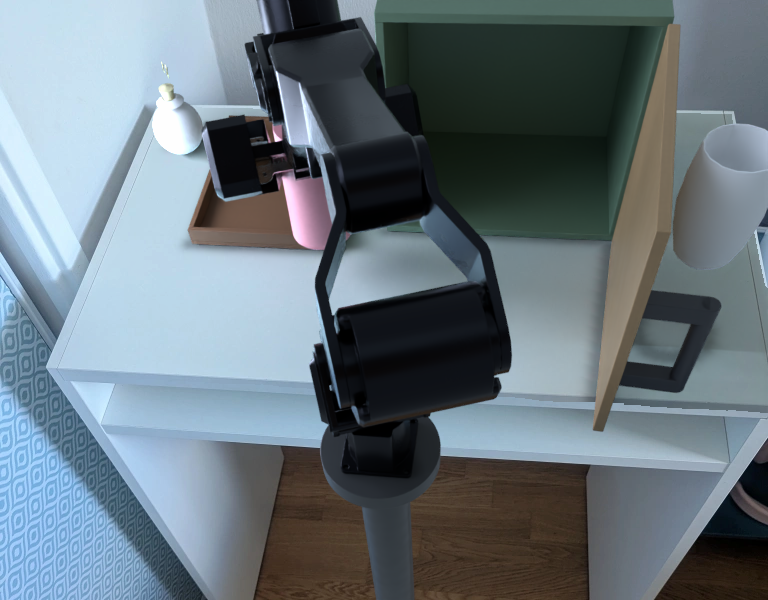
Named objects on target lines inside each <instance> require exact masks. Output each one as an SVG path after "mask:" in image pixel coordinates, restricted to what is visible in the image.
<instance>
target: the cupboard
mask: <svg viewBox="0 0 768 600" xmlns="http://www.w3.org/2000/svg"><path fill="white" fill-rule="evenodd" d="M673 1H674V0H376V2H375V7H374V12H373V22H374V36H375V37H374V39H375V44H376V46H377V48H378V51H379V54H380V58H381V62H382V67H383V73H384V81H385V88H388V87H393V86H399V85H404V84H408V85H409V86H410V87H412V88H413V89H414V90H415V92H416V95H417V99H418V105H419V111H420V117H421V123H422V129H423V134H424V137H425V139H426V141H427V144H428V147H429V150H430V154H431V158H432V162H433V166H434V171H435V175H436V179H437V184H438V188H439V191H440V193H441V194H442V195H443V197H444V198H445V199H446V200H447V201H448V202H449V203H450V204H451V205H452V206H453V207H454V208H455V210H456V211H457V212H458V213H459V214H460V215H461V216H462V217H463V218H464V219H465V220H466V222H467V223H468V224H469V225H470V226H471V227H472V228H473V229H474V230H475V231H476V232H477V233H478V235H479V236H495V237H497V236H499V237H519V238H542V239H562V240H563V239H564V240H565V239H566V240H588V241H608V242H609V241H610V242H612V239H613V235H614V231H615V227H616V223H617V220H618V216H619V212H620V208H621V204H622V200H623V197H624V193H625V189H626V185H627V181H628V177H629V174H630V170H631V166H632V162H633V158H634V154H635V151H636V147H637V143H638V139H639V135H640V131H641V128H642V124H643V120H644V116H645V112H646V108H647V105H648V101H649V97H650V93H651V89H652V85H653V82H654V78H655V74H656V70H657V66H658V62H659V59H660V55H661V51H662V47H663V43H664V39H665V36H666V32H667V28H668V25H669V24H674V20H675V10H674V2H673ZM386 231H387V232H407V233H425V232H424V230H423V228H422V226H421V224H420V220H419V221H415V222H410V223H405V224H400V225H395V226H390V227H386Z"/></svg>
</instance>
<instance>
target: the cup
mask: <svg viewBox="0 0 768 600" xmlns="http://www.w3.org/2000/svg"><path fill="white" fill-rule="evenodd" d="M767 210H768V130H767V129H766V128H764V127H760V126H757V125H753V124H751V123H750V124H748V123H735V122H734V123H729V124H723V125H719V126H718V127H715V128H713V129H712V130H710V131H708V133H707V134H706V135H705V136H704V138H703V139H702V141H701V143H700V145H699V147H698V148H697V151H696V152H695V154H694V155H693V159H691V162H690V164H689V166H688V167H687V170H686V172H685V175H684V177H683V180H682V183H681V185H680V187H679V190H678V193H677V195H676V198H675V205H674V212H673V217H672V251H673V253H674V254H675V256H676V258H677V259H678V260H680V262H682V263H684V264H685V265H687V266H688V267H689V268H690V269H694V270H698V271H704V270H707V271H708V270H709V271H711V270H715V269H721V268H723V267H724V266H726V265H728V264H730V263H731V261H733V259H735V258H736V257H737V255H738V254H739V253H740V252H741V251H742V250H743V249H745V246H746V245H747V243H748V242H749V240H751V238H752V236H753V235H754V234H755V232H756V231H757V229H758V227H759V226H760V224H761V222H762V221H763V219H764V218H765V215H766V213H767Z"/></svg>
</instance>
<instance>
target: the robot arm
mask: <svg viewBox="0 0 768 600" xmlns="http://www.w3.org/2000/svg"><path fill="white" fill-rule="evenodd" d="M256 5H257V9H258V14H259V19H260V23H261V28H262V32H260V33H257V34H256V35H254V36H252V40H253V41H248V42H245V43H244V51H245V56H246V61H247V62H246V63H247V65H248V66H247V67H248V71H249V74H250V75H249V76H250V79H251V84H252V88H253V89H254V90H255V92H256V96H257V100H258V105H259V109H260V110H261V111H263V112H264V113H265V114H267V116H268V118H269V122H272V123H273V126H278V125H282V141H277V142H270V139H269V135H268V132H267V129H266V126H265V122H264V119H260V120H255V121H250V122H246V119H245V116H246V115H245V114H240V115H239V114H238V115H233V116H234V117H229V116H228V117H223V118H219V119H213V120H209V121H205V123H203V128H202V130H201V132H202V141H203V145H204V149H205V153H206V158H207V163H208V166H209V169H210V171H211V175H212V179H213V183H214V187H215V190H216V194H217V195H218V197H220V198H221V199H223V200H224V201H225V202H227V201H232V200H237V199H242V198H247V197H252V196H257V195H262V194H267V193H272V192H277V191H279V190H280V185H281V182H282V178H283V176H282V172H284V171H289V170H293V171H294V175H295V180H296V181H299V180H304V179H309V178H312V179H316V178H321V177H323V183H324V188H325V194H326V199H327V204H328V208H329V213H330V217H331V221H332V227H331V230H330V233H329V236H328V239H327V243H326V246H325V249H324V250H323V252H322V255H321V258H320V261H319V264H318V268H317V270H316V274H315V277H314V295H315V305H316V312H317V316H318V321H319V325H320V329H319V333H318V335H319V339H320V342H317V343H313V344H312V345H313V346H312V347H313V351H312V352H311V353H312V358H311V359H310V361H309V363H308V368H309V371H310V375H311V380H312V385H313V390H314V394H315V399H316V403H317V409H318V413H319V417H320V421H321V422H322V423H324V424H326V425H327V426H329V429H330V432H333V436H334V437H338V436H340V435H342V434H346V439H345V444H344V450H343V455H342V461H341V466H340V467H341V471H342V473H344V474H354V475H367V476H380V477H392V478H405V479H407V478H410V477H411V476H412V470H413V462H414V455H415V447H416V439H417V431H418V420H417V419H416V418H420V417H424V418H425V417H429V418H430V417H431V414H432V413H437V412H443V411H446V410H452V409H457V408H460V407H465V406H470V405H474V404H479V403H483V402H488V401H493V400H496V399H497V398H498V396H499V394H500V393H501V390H502V387H503V386H502V382H501V379H500V377H498V375H503V374H506V373H507V374H509V372H510V370H511V368H512V361H513V349H512V339H511V333H510V327H509V324H508V319H507V315H506V311H505V307H504V302H503V298H502V293H501V289H500V284H499V280H498V276H497V272H496V268H495V264H494V259H493V254H492V251H491V249H490V247H489V245H488V244H487V242H486V241H485V240H484V238H482V237H481V235H478V233H477V232H476V231H475V230H474V229H473V228H472V227H471V226H470V225H469V224H468V223H467V222H466V220H465V219H464V218H463V217H462V216H461V215H460V214H459V213H458V212H457V211H456V210H455V208H454V207H453V206H452V205H451V204H450V203H449V202H448V201H447V200H446V199H445V198H444V197H443V195H442V194H441V193H440V191H439V188H438V184H437V179H436V175H435V171H434V166H433V162H432V158H431V154H430V150H429V147H428V144H427V141H426V139H425V137H424V134H423V129H422V123H421V117H420V111H419V105H418V99H417V95H416V92H415V90H414V89H413V88H412V87H410V86H409V85H408V84H404V85H399V86H393V87H388V88H385V81H384V73H383V67H382V62H381V58H380V54H379V51H378V48H377V46H376V41H374V39H373V37H372V35H371V33H370V31H369V29H368V27H367V25H366V23H365V22H364V20H363V18H362V17H361V16H358V17H353V18H347V19H343V20H342V18H341V13H340V7H339V1H338V0H256ZM284 156H286V157H287V161H285V159H284V158H283V160H282V162H281V161H280V159H279V157H284ZM419 220H420V224H421V226H422V228H423V230H424V232H423V233H425V234H426V235H427V237H428V238H429V239H431V241H432V242H433V243H434V244H435V245H436V246H437V247H438V248H439V250H440V251H441V252H442V253H443V254H444V255H445V256H446V257H447V258H448V259H449V261H451V262H452V264H453V265H454V266H455V267H456V268H457V269H458V270H459V271H460V272H461V273H462V274H463V275H464V277H465V278H466V280H467V281H462V282H457V283H452V284H448V285H442V286H437V287H433V288H428V289H424V290H423V289H422V290H419V291H414V292H409V293H404V294H400V295H394V296H389V297H385V298H379V299H375V300H371V301H365V302H360V303H356V304H355V303H354V304H352V305H351V304H349V305H345V306H340V307H337V309H336V311H335V313H334V314H333V311H332V308H331V307H332V306H331V303H330V298H331V294H332V291H333V288H334V285H335V282H336V278H337V276H338V273H339V270H340V266H341V263H342V260H343V256H344V253H345V250H346V247H347V246H346V244H347V240H346V231H347V232H348V233H349V234H351V235H354V234H361V233H365V232H370V231H375V230H380V229H385V228H387V227H390V226H395V225H400V224H405V223H410V222H415V221H419ZM412 422H415V424H411V423H412ZM345 467H348V469H344V468H345ZM406 471H407V472H409V473H408V474H405V473H404V472H406Z"/></svg>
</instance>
